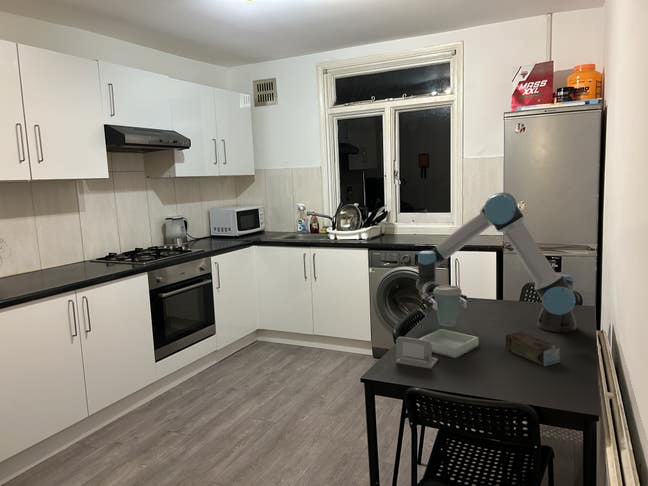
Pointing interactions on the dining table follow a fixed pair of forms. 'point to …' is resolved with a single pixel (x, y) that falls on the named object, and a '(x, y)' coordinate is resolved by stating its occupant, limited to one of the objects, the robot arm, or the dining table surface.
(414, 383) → the dining table surface
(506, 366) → the dining table surface
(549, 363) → the beverage carton
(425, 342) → the handheld gaming console
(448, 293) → the disposable coffee cup
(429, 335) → the sage tray
